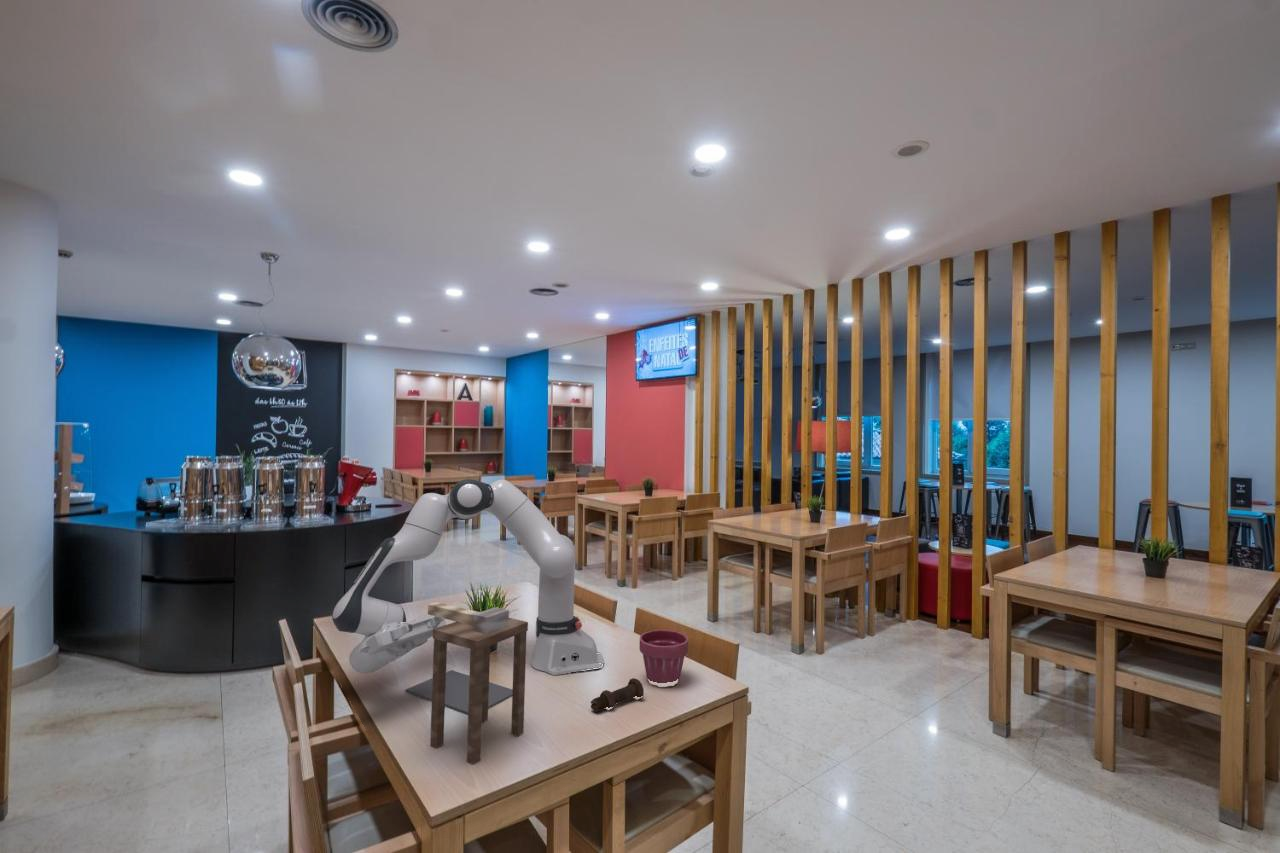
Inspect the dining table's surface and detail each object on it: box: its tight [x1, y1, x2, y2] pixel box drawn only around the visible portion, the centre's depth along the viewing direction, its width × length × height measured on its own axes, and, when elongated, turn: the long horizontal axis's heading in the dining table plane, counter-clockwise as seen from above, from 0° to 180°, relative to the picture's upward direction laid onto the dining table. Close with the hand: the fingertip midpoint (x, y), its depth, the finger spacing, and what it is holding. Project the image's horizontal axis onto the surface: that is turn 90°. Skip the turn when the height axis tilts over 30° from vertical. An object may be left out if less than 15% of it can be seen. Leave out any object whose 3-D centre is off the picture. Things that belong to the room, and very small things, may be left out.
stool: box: [429, 617, 529, 765], centre depth 131 cm, size 14×16×26 cm
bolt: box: [590, 677, 644, 712], centre depth 150 cm, size 6×5×15 cm
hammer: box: [427, 601, 510, 634], centre depth 134 cm, size 22×7×4 cm, turn 60°
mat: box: [404, 669, 513, 716], centre depth 155 cm, size 26×16×1 cm, turn 60°
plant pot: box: [639, 629, 689, 683], centre depth 165 cm, size 14×14×13 cm
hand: (425, 622), depth 141 cm, fingers open, 8 cm apart
